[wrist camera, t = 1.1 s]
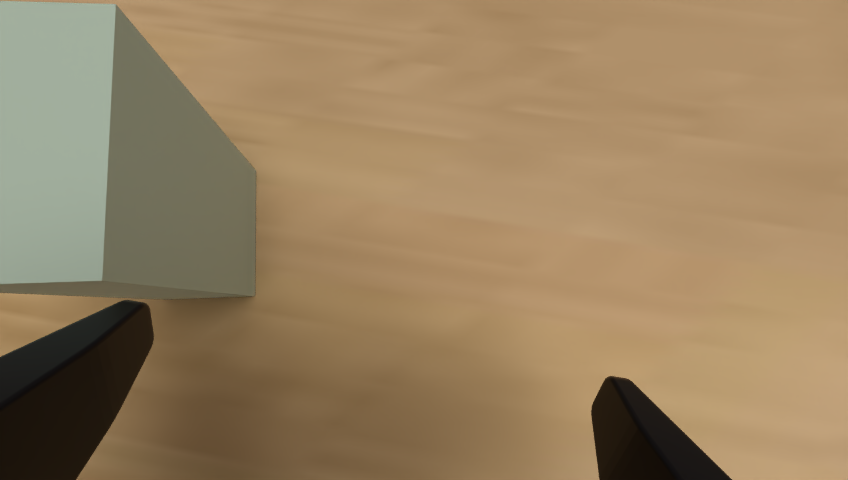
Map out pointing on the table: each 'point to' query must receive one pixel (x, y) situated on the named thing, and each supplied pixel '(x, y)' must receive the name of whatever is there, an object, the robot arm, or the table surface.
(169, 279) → the pale green rectangular block
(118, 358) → the robot arm
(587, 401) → the table surface
